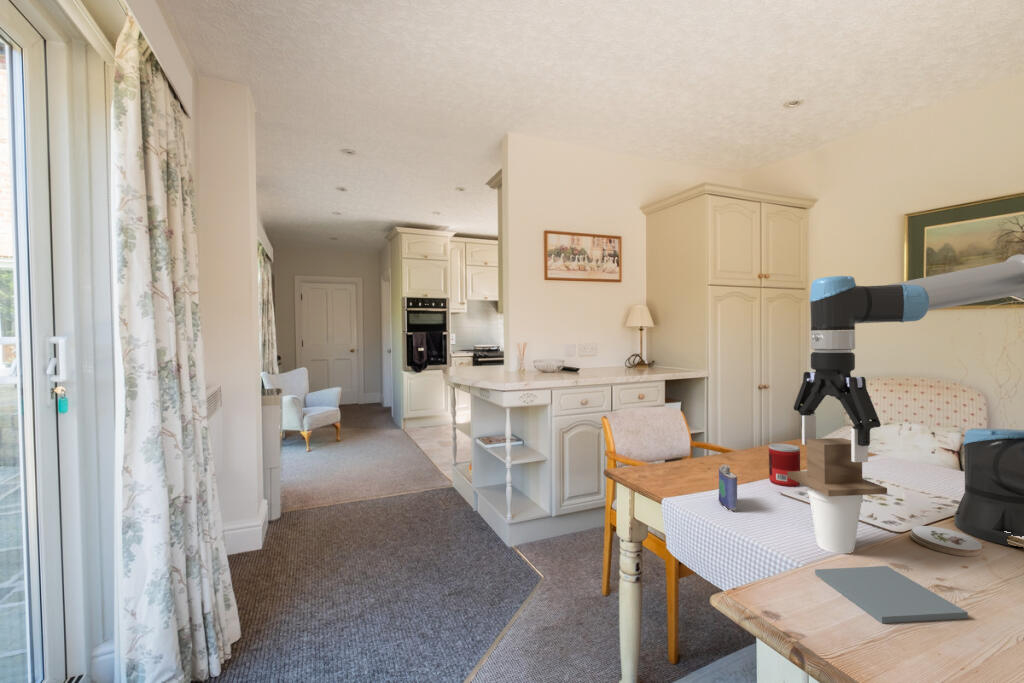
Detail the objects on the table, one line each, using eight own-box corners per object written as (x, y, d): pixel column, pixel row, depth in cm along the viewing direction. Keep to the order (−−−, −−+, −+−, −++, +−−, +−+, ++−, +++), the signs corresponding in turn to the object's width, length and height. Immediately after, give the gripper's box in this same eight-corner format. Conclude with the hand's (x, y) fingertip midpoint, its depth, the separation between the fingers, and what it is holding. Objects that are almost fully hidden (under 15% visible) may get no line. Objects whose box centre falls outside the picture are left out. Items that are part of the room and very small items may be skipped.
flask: (739, 512, 112) (738, 470, 111) (727, 512, 112) (726, 469, 112) (727, 499, 121) (726, 460, 121) (715, 499, 121) (714, 459, 121)
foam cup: (847, 562, 87) (847, 495, 86) (798, 543, 95) (798, 482, 95) (872, 550, 91) (871, 487, 91) (823, 533, 99) (823, 475, 99)
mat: (887, 571, 83) (886, 565, 83) (967, 618, 69) (967, 612, 69) (815, 574, 82) (815, 569, 82) (882, 623, 68) (881, 616, 68)
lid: (839, 475, 99) (838, 434, 99) (887, 494, 87) (886, 447, 87) (787, 477, 98) (786, 435, 98) (828, 496, 86) (827, 449, 86)
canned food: (806, 487, 129) (805, 449, 129) (778, 487, 129) (778, 449, 129) (790, 478, 136) (789, 443, 136) (764, 479, 137) (763, 443, 136)
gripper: (776, 349, 105) (776, 439, 105) (865, 353, 80) (866, 470, 80) (806, 349, 105) (807, 438, 105) (905, 353, 80) (905, 469, 80)
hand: (832, 452), depth 93 cm, fingers open, 13 cm apart
